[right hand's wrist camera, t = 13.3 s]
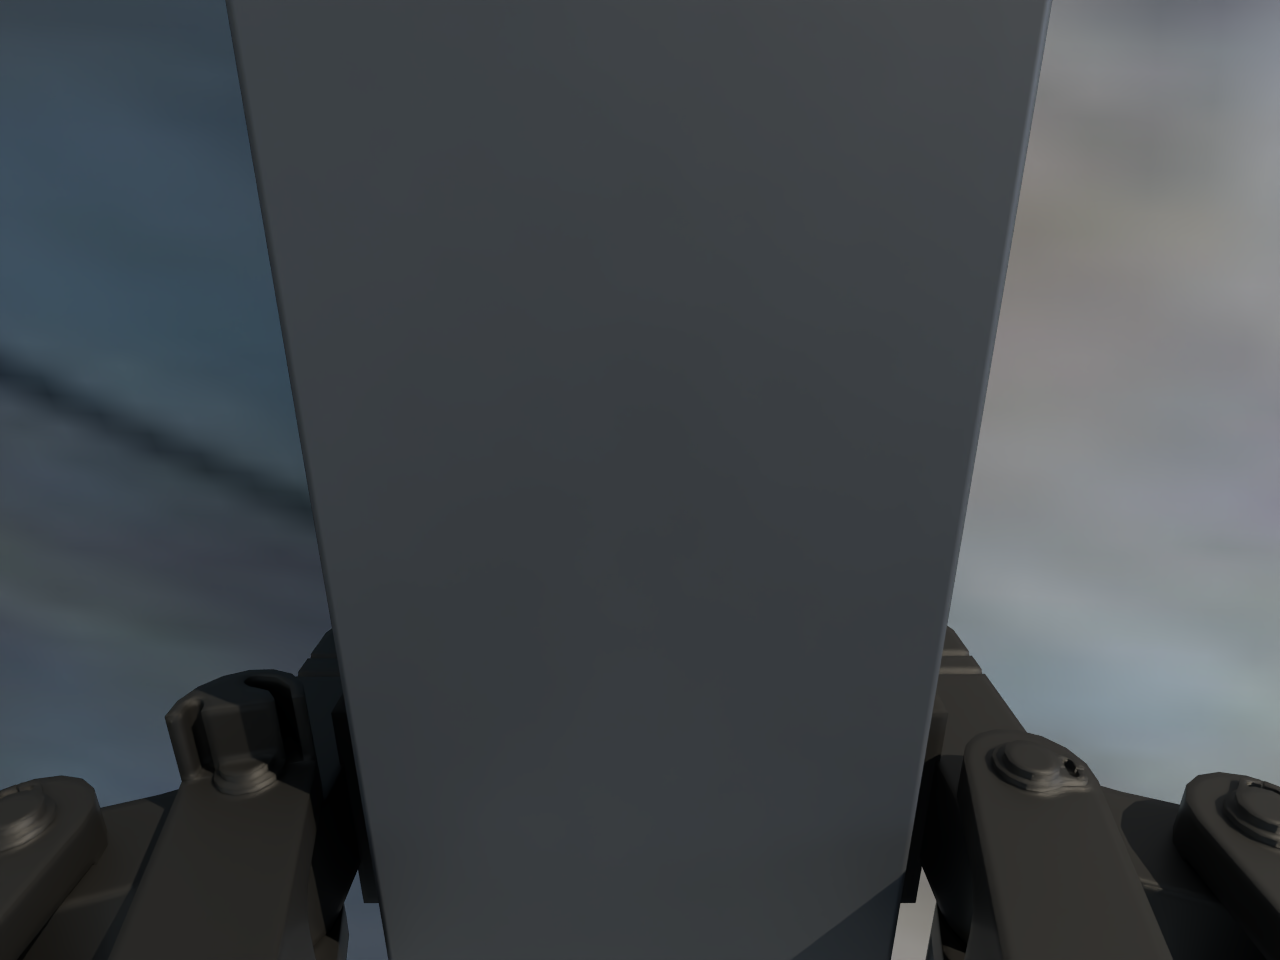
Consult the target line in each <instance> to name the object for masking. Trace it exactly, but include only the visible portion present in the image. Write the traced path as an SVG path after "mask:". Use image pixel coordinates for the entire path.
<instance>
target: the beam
mask: <svg viewBox="0 0 1280 960" xmlns="http://www.w3.org/2000/svg"><path fill="white" fill-rule="evenodd" d="M1051 5H1052V0H226V6H227V12H228V18H229V24H230V30H231V36H232V42H233V47H234V53H235V59H236V65H237V71H238V77H239V83H240V89H241V94H242V100H243V106H244V112H245V118H246V124H247V130H248V136H249V142H250V147H251V153H252V159H253V165H254V171H255V177H256V183H257V189H258V195H259V200H260V206H261V212H262V218H263V224H264V230H265V236H266V242H267V248H268V253H269V259H270V265H271V271H272V277H273V283H274V289H275V295H276V300H277V306H278V312H279V318H280V324H281V330H282V336H283V342H284V348H285V353H286V359H287V365H288V371H289V377H290V383H291V389H292V395H293V401H294V406H295V412H296V418H297V424H298V430H299V436H300V442H301V448H302V454H303V459H304V465H305V471H306V477H307V483H308V489H309V495H310V501H311V507H312V512H313V518H314V524H315V530H316V536H317V542H318V548H319V554H320V559H321V565H322V571H323V577H324V583H325V589H326V595H327V601H328V607H329V612H330V618H331V624H332V630H333V636H334V642H335V648H336V654H337V660H338V665H339V671H340V677H341V683H342V689H343V695H344V701H345V707H346V713H347V718H348V724H349V730H350V736H351V742H352V748H353V754H354V760H355V765H356V771H357V777H358V783H359V789H360V795H361V801H362V807H363V813H364V818H365V824H366V830H367V836H368V842H369V848H370V854H371V860H372V866H373V871H374V877H375V883H376V889H377V895H378V901H379V907H380V913H381V919H382V924H383V930H384V936H385V942H386V948H387V954H388V960H891V955H892V949H893V944H894V938H895V932H896V926H897V920H898V914H899V908H900V902H901V896H902V890H903V884H904V878H905V872H906V866H907V860H908V854H909V848H910V843H911V837H912V831H913V825H914V819H915V813H916V807H917V801H918V795H919V789H920V783H921V777H922V771H923V765H924V759H925V753H926V747H927V742H928V736H929V730H930V724H931V718H932V712H933V706H934V700H935V694H936V688H937V682H938V676H939V670H940V664H941V658H942V652H943V647H944V641H945V635H946V629H947V623H948V617H949V611H950V605H951V599H952V593H953V587H954V581H955V575H956V569H957V563H958V557H959V551H960V546H961V540H962V534H963V528H964V522H965V516H966V510H967V504H968V498H969V492H970V486H971V480H972V474H973V468H974V462H975V456H976V450H977V445H978V439H979V433H980V427H981V421H982V415H983V409H984V403H985V397H986V391H987V385H988V379H989V373H990V367H991V361H992V355H993V349H994V344H995V338H996V332H997V326H998V320H999V314H1000V308H1001V302H1002V296H1003V290H1004V284H1005V278H1006V272H1007V266H1008V260H1009V254H1010V248H1011V243H1012V237H1013V231H1014V225H1015V219H1016V213H1017V207H1018V201H1019V195H1020V189H1021V183H1022V177H1023V171H1024V165H1025V159H1026V153H1027V147H1028V142H1029V136H1030V130H1031V124H1032V118H1033V112H1034V106H1035V100H1036V94H1037V88H1038V82H1039V76H1040V70H1041V64H1042V58H1043V52H1044V46H1045V41H1046V35H1047V29H1048V23H1049V17H1050V11H1051Z"/></svg>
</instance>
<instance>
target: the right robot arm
mask: <svg viewBox="0 0 1280 960" xmlns="http://www.w3.org/2000/svg"><path fill="white" fill-rule="evenodd" d="M165 720H166V724H167V727H168V731H169V735H170V739H171V742H172V746H173V750H174V754H175V757H176V761H177V765H178V769H179V772H180V776H181V780H182V783H181V785H180V788H179V789H178V790H174V791H171V792H168V793H164V794H161V795H157V796H152V797H148V798H143V799H139V800H134V801H130V802H125V803H121V804H116V805H112V806H107V807H103V808H100V806H99V803H98V799H97V796H96V793H95V790H94V788H93V787H92V786H91V785H89V784H88V783H87V782H86V781H85V780H83V779H81V778H75V777H68V776H54V777H47V778H39V779H33V780H30V781H27V782H23V783H20V784H18V785H14V786H11V787H8V788H6V789H3V790H1V791H0V960H346V958H347V948H348V939H349V931H348V924H347V917H346V912H345V906H344V901H345V899H346V896H347V894H348V892H349V889H350V887H351V884H352V882H353V880H354V877H355V875H356V872H357V870H358V871H359V877H360V883H361V889H362V894H363V900H364V903H379V901H378V895H377V889H376V883H375V877H374V871H373V866H372V860H371V854H370V848H369V842H368V836H367V830H366V824H365V818H364V813H363V807H362V801H361V795H360V789H359V783H358V777H357V771H356V765H355V760H354V754H353V748H352V742H351V736H350V730H349V724H348V718H347V713H346V707H345V701H344V695H343V689H342V683H341V677H340V671H339V665H338V660H337V654H336V648H335V642H334V636H333V630H332V629H331V630H329V631H328V632H326V634H325V635H324V637H323V638H322V639H321V641H320V642H319V644H318V645H317V646H316V648H315V649H314V651H313V652H312V653H311V658H308V659H307V660H306V662H305V663H304V665H303V666H302V668H301V669H300V670H299V672H298V677H295V676H294V675H293V674H291V673H286V672H282V671H278V670H274V669H268V670H248V671H243V672H239V673H235V674H231V675H226V676H223V677H220V678H218V679H216V680H213V681H211V682H208V683H206V684H204V685H201V686H199V687H197V688H196V689H194V690H193V691H191V692H190V693H189V694H187V695H186V696H184V697H183V698H181V699H180V700H178V701H177V702H176V704H175V705H174V706H173V707H172V708H171V710H170V711H169V712H168V713H167V715H166V716H165ZM922 867H923V870H924V872H925V875H926V877H927V879H928V882H929V884H930V887H931V889H932V891H933V894H934V896H935V899H936V906H935V912H934V917H933V923H932V928H931V933H930V939H929V944H928V949H927V955H926V960H1280V787H1279V786H1276V785H1274V784H1271V783H1268V782H1266V781H1261V780H1259V779H1255V778H1252V777H1249V776H1244V775H1237V774H1229V773H1222V772H1216V773H1210V774H1203V775H1198V776H1197V777H1195V778H1194V779H1193V780H1192V781H1191V782H1189V783H1188V784H1187V785H1186V788H1185V791H1184V794H1183V797H1182V800H1181V803H1180V805H1179V804H1174V803H1170V802H1165V801H1161V800H1156V799H1152V798H1147V797H1143V796H1138V795H1134V794H1129V793H1124V792H1120V791H1117V790H1113V789H1110V788H1106V787H1103V786H1100V784H1099V782H1098V780H1097V778H1096V777H1095V775H1094V774H1093V773H1092V771H1091V770H1090V768H1089V767H1088V765H1087V764H1086V763H1085V762H1084V761H1082V760H1081V759H1080V758H1078V757H1077V756H1076V755H1075V754H1073V753H1072V752H1071V751H1069V750H1068V749H1067V748H1065V747H1063V746H1061V745H1059V744H1057V743H1055V742H1053V741H1051V740H1049V739H1046V738H1044V737H1042V736H1038V735H1034V734H1031V733H1027V732H1026V731H1025V729H1024V728H1023V726H1022V725H1021V724H1020V722H1019V721H1018V719H1017V718H1016V717H1015V715H1014V714H1013V712H1012V711H1011V710H1010V708H1009V707H1008V705H1007V704H1006V703H1005V701H1004V700H1003V698H1002V697H1001V696H1000V694H999V693H998V692H997V690H996V689H995V687H994V686H993V685H992V683H991V682H990V680H989V679H988V678H987V676H986V675H985V674H982V669H981V668H980V666H979V665H978V664H977V662H976V661H975V659H974V658H973V657H972V656H969V651H968V650H967V648H966V647H965V645H964V644H963V643H962V641H961V640H960V638H959V637H958V636H957V634H956V633H955V631H954V630H953V629H951V628H950V627H948V626H947V629H946V635H945V641H944V647H943V652H942V658H941V664H940V670H939V676H938V682H937V688H936V694H935V700H934V706H933V712H932V718H931V724H930V730H929V736H928V742H927V747H926V753H925V759H924V765H923V771H922V777H921V783H920V789H919V795H918V801H917V807H916V813H915V819H914V825H913V831H912V837H911V843H910V848H909V854H908V860H907V866H906V872H905V878H904V884H903V890H902V896H901V902H900V903H916V897H917V891H918V886H919V880H920V874H921V868H922Z"/></svg>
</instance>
